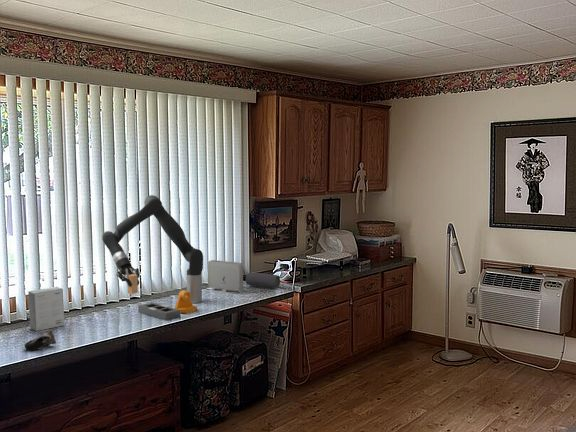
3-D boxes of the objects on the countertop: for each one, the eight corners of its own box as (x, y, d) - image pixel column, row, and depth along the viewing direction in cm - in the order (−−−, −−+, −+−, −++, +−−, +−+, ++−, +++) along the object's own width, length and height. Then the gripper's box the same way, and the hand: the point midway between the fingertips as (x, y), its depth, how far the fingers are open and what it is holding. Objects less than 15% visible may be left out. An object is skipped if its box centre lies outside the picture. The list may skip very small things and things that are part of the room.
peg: (133, 291, 336) (133, 274, 335) (137, 292, 333) (137, 275, 332) (127, 292, 333) (127, 275, 332) (131, 293, 330) (131, 276, 329)
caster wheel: (24, 356, 276) (36, 346, 285) (45, 352, 273) (57, 342, 283) (19, 342, 274) (31, 333, 284) (40, 339, 272) (52, 330, 281)
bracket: (182, 314, 341) (181, 293, 339) (175, 312, 346) (174, 291, 345) (197, 311, 348) (197, 290, 347) (190, 308, 353) (190, 288, 352)
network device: (206, 290, 402) (205, 261, 400) (213, 288, 410) (213, 259, 408) (238, 294, 390) (238, 264, 388) (245, 292, 398) (245, 262, 396)
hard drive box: (58, 322, 322) (57, 286, 320) (64, 325, 316) (63, 288, 315) (29, 328, 311) (28, 290, 309) (35, 331, 306) (33, 293, 304)
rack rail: (138, 312, 345) (138, 304, 344) (152, 309, 352) (152, 301, 351) (165, 320, 327) (165, 312, 327) (180, 317, 334) (180, 309, 334)
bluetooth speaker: (280, 287, 412) (280, 273, 411) (274, 290, 403) (274, 276, 402) (251, 285, 421) (251, 271, 420) (245, 287, 412) (245, 273, 411)
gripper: (113, 258, 331) (125, 283, 324) (135, 255, 341) (148, 279, 334) (108, 266, 335) (120, 291, 328) (130, 263, 345) (142, 287, 338)
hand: (134, 285), depth 331 cm, fingers closed on peg, 4 cm apart
